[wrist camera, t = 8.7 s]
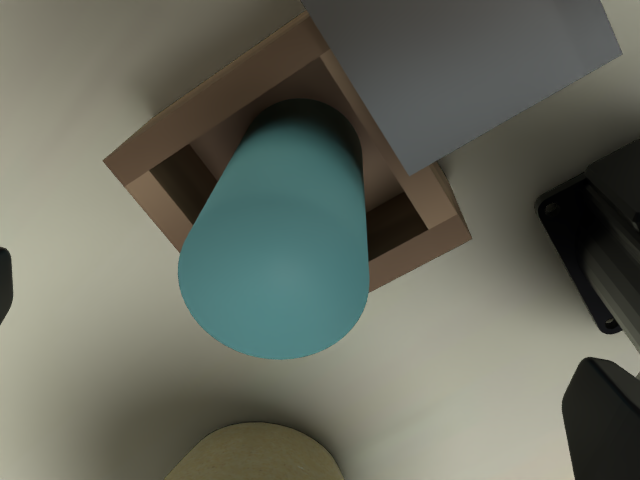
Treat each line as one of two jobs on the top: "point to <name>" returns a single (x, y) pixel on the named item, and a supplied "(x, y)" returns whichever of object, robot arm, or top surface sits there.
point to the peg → (282, 237)
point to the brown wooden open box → (374, 106)
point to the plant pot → (257, 456)
